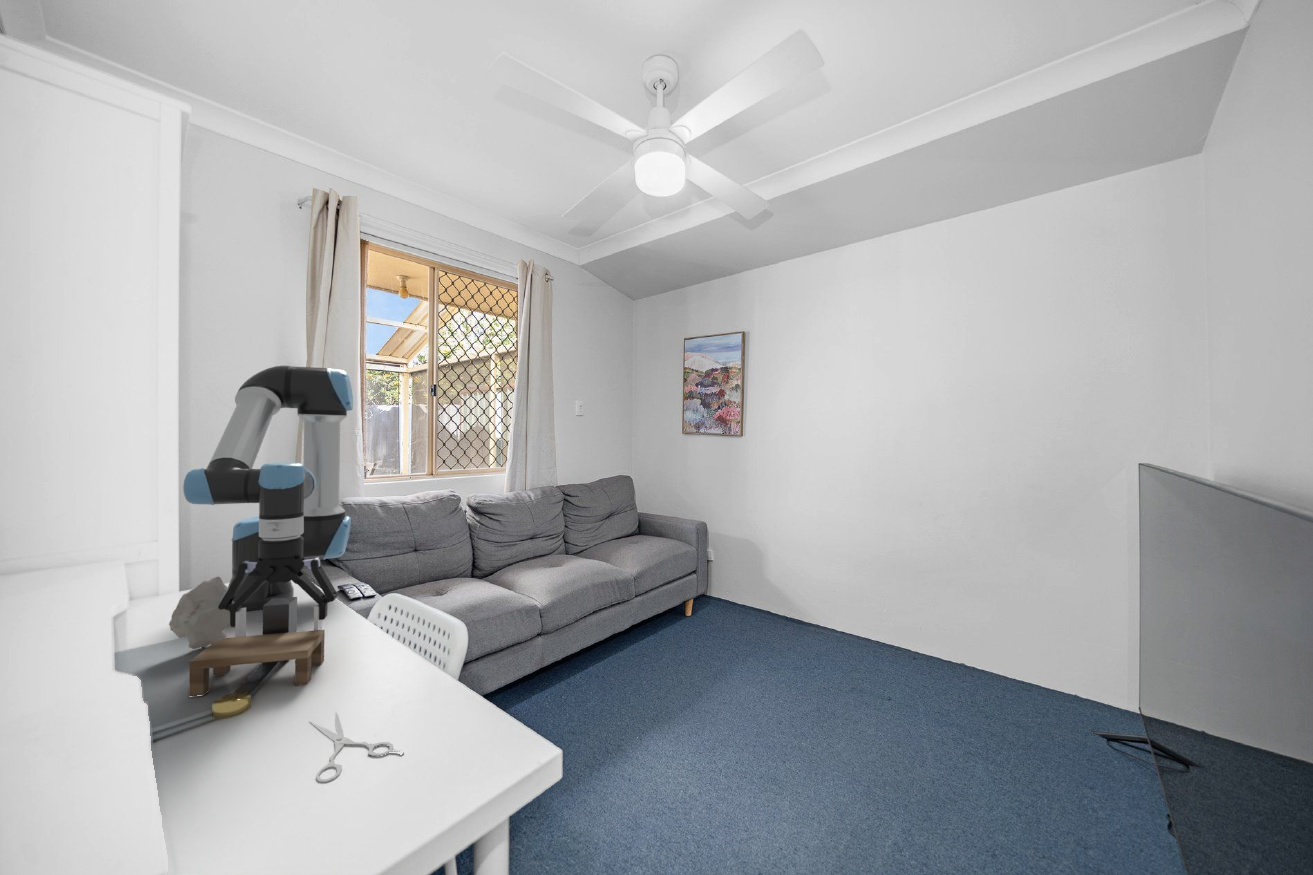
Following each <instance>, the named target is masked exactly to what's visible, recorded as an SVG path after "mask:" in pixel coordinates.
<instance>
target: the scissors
mask: <svg viewBox="0 0 1313 875" xmlns="http://www.w3.org/2000/svg"><path fill="white" fill-rule="evenodd" d="M309 723H310V724H311V725H312V726H313V727H314V728H316V729H317V730H318V731H319V732H320V733H321V734H323V735H324V736H325V737H327V738H328V739H330V740H331V741H332V742H333V743H334V748H335V749H334V752H333V754H332V755H331V756H329V762H328V763H327V764H326V765H325V766H323V767H322V768H320V769H319V771H318V772H317V773H316V776H315V780H316V781H317V782H319V783H322V784H323V783H324V784H325V783H329V782H332V781H333V780H336V779H337V778H338V777H339V776H340V775H341V773H342V770H343V765H342V764H339V763H335V761H334V760H335V759H336V757H337V755H338V754H339V753H340V751H342V749H343V748H344V747H345V746H346V747H347V746H349V747H363V746H366V747H367V748H366V747H365V748H366V749H367V750H368V752H367V756H369V755H371V756H381V755H385V754H388V753H389V752H398V751H399V752H400V751H401V750H398V751H395V750H396V749H394V745H393V743H391V742H389V741H380V742H377V743H368V742H366V741H363V742H362V741H361V742H358V741H356V742H355V741H354V740H352V739H351V738H349V737H345V735H344V730H343V727H342V724H341V723H342V722H341V721H340V717H339V715H338V713H337V711H335V719H334V729H335V732H333V731H331V730H329V729H327V728H325V727H323V726H320V725H318V724H316V723H314V722H312V721H309ZM379 745H388V746H389V747H388V748H389V749H387V750H386V751H384V752H380V753H377V752H375V751H374V749H376V748H377V747H376V746H379ZM375 747H376V748H375ZM379 747H380V746H379ZM373 748H374V749H373ZM393 750H394V751H393ZM388 755H389V754H388ZM371 756H370V757H371ZM385 756H386V755H385ZM328 769H336V772H335V774H334V775H333V776H331V777H328V778H324V779H323V778H321V777H320V775H321V774H322V773H323V772H324V771H326V770H328Z"/></svg>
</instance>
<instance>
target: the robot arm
mask: <svg viewBox="0 0 1313 875" xmlns="http://www.w3.org/2000/svg"><path fill="white" fill-rule="evenodd" d="M234 402H235V405H236V406H235V408H234V411H233V412H232V414H231V417H230V419H229V421H228V423H227V425H226V427H225V429H224V431H223V433H222V435H221V438H220V439H219V442H218V443H217V446H216V448H215V450H214V453H213V455H212V457H211V459H210V461H209V463H208V465H207V466H206V468H198V469H196V468H195V469H191V470H190V471H188V472H187V473H186V475H185V477H184V480H183V486H182V488H183V491H182V492H183V494H184V498H185V500H186V501H187V502H188V503H190V504H192V505H211V506H214V505H232V504H235V505H236V504H259V506H258V508H259V509H258V510H259V515H257V516H253V517H249V518H246V519H242V520H239V521H238V522H236V523H235V524H234V526H233V528H232V538H231V542H232V545H231V548H232V550H231V551H232V552H231V553H232V556H231V570H232V571H231V578H230V581H229V583H228V585H227V588H228V591H227V593H226V594H225V596H224V598H223V599H222V601H221V602H220V604H219V606H218V608H219V609H220V610H223V609H225V610H228V611H230V627H231V628H234V629H235V630H234V634H235V635H234V637H244V636H247V611H254V610H263V605H265V604H266V603H267V602H269V601H270V600H271V599H273V598H288V597H295V596H294V594H295V593H294V592H295V591H294V590H295V589H294V586H293V583H294V585H295V584H296V585H297V586H298V587H300V588H301V590H303V591H304V592H305V593H306V594H307V595H308V596H309V597H310V598H312V599H313V601H314V602H316V604H315V605H314V606H313V630H323V628H322V627H323V626H322V625H323V620H325V619H326V618H327V617H328V603H332V602H334V601H335V600H336V599H337V597H338V595H339V594H338V592H337V591H336V588H335V587H334V585H333V583H332V582H331V580H330V579H329V577H328V575H327V573H326V572H325V570H324V568H323V566H322V565H323V564H322V560H326V559H334V558H335V559H336V558H339V557H342V556H343V555H344V554H345V552H346V549H347V546H348V541H349V537H350V532H351V525H352V522H351V521H352V518H351V516H348V515H346V509H345V508H343V507H342V506H341V505H340V461H341V460H340V458H341V457H340V456H341V452H340V451H341V422H342V421H343V420H344V419H346V418H347V417H348V416H347V414H348V412H350V411H352V410H353V409H354V396H353V389H352V384H351V381H350V377H349V374H348V373H347V372H346V371H345V370H343V369H336V368H330V367H309V366H292V365H275V366H273V367H269V368H266V369H264V370H261V371H258V372H257V373H255V374H254V375H252V376H251V377H249V378H248V379H247V380H245V381H244V383H243V384H242V385H241V386H240V387H239V388H238V391H237V392H236V394H235V397H234ZM281 409H296V410H297V414H296V415H297V416H298V417H299V418H300V419H301V420H303V454H302V455H303V456H302V457H303V458H302V459H303V461H302V462H303V464H302V463H298V462H269V463H265V464H262V466H260V468H253V466H254V464H255V462H256V460H257V457H258V454H259V453H260V452H259V451H260V448H261V446H262V443H263V441H264V440H265V436H266V434H267V431H268V428H269V426H270V423H271V422H272V421H271V420H272V418H273V416H275V415H277V414H278V412H279V411H280V410H281ZM347 411H348V412H347ZM304 567H307V568H308V570H311V573H312V575H313V577H314V578H315V580H316V582H317V584H318V585H319V587H320V588H319V587H318V586H317V585H316V584H315V583H313V581H312V580H310V578H308V576H307V574H306V573H305V572H304V571H303V568H304ZM292 582H293V583H292ZM232 601H233V602H232Z"/></svg>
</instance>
